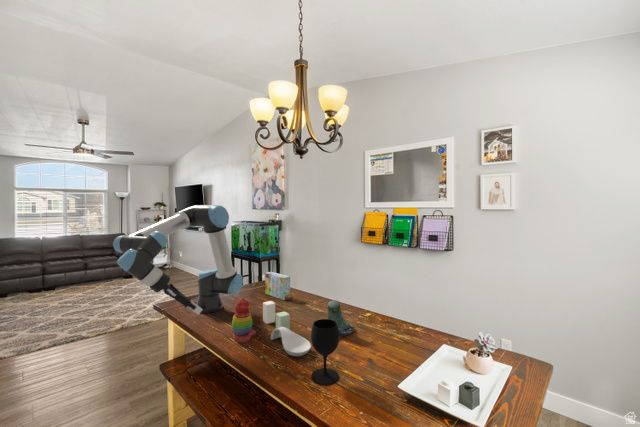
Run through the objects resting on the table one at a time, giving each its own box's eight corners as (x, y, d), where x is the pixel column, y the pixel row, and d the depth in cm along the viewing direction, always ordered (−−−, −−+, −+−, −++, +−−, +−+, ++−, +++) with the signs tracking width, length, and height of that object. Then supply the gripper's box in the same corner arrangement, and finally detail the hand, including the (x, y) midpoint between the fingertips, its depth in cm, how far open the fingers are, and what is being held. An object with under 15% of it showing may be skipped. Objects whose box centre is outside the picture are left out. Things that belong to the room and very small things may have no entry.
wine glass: (310, 369, 114) (310, 318, 113) (336, 368, 115) (337, 317, 114) (311, 386, 104) (311, 330, 103) (341, 384, 105) (341, 329, 104)
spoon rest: (316, 353, 126) (316, 337, 126) (294, 364, 118) (294, 346, 118) (284, 335, 144) (284, 320, 143) (263, 343, 136) (263, 327, 135)
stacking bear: (248, 343, 135) (247, 304, 134) (227, 341, 137) (227, 303, 136) (257, 332, 145) (257, 297, 145) (238, 331, 148) (238, 295, 147)
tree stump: (360, 326, 155) (359, 296, 150) (346, 352, 138) (345, 319, 132) (328, 318, 163) (326, 289, 157) (311, 341, 146) (309, 310, 140)
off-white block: (262, 320, 160) (262, 302, 160) (271, 318, 163) (271, 300, 163) (266, 323, 156) (266, 305, 156) (275, 321, 159) (275, 303, 158)
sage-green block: (275, 333, 145) (275, 313, 144) (284, 331, 148) (284, 311, 147) (280, 337, 141) (280, 316, 140) (289, 334, 143) (289, 314, 143)
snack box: (290, 298, 196) (290, 276, 195) (284, 301, 192) (284, 278, 191) (271, 292, 210) (271, 271, 209) (264, 293, 206) (264, 272, 205)
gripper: (147, 283, 124) (190, 314, 134) (150, 291, 113) (196, 324, 123) (161, 269, 126) (202, 300, 136) (165, 275, 116) (210, 309, 126)
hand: (200, 311), depth 130 cm, fingers closed
